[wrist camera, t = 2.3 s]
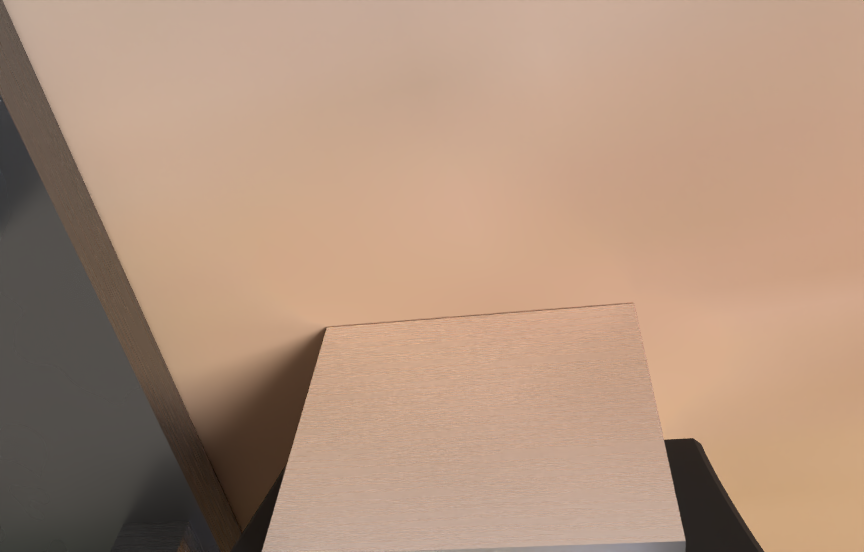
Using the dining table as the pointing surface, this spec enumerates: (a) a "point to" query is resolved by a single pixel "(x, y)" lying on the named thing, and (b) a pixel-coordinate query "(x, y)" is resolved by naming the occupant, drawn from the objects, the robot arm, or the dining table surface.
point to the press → (82, 365)
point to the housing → (481, 440)
